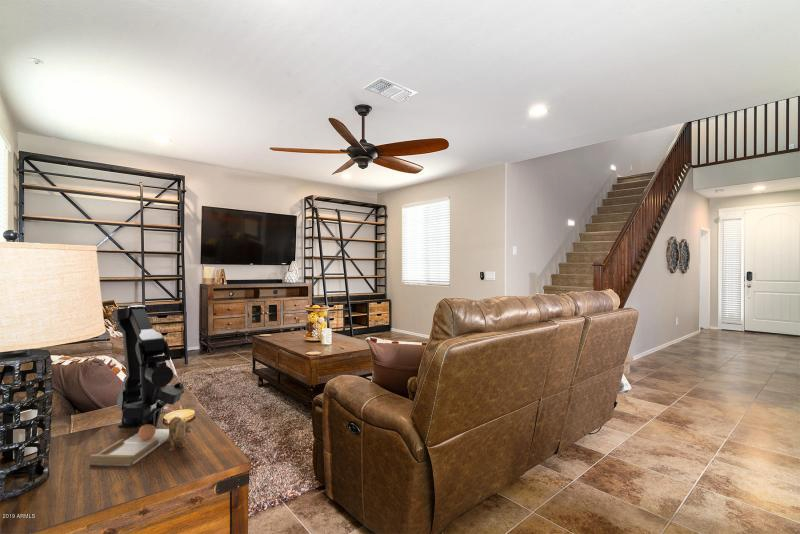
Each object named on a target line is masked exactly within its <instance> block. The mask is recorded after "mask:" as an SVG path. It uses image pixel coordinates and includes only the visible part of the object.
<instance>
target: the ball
mask: <svg viewBox="0 0 800 534" xmlns="http://www.w3.org/2000/svg"><path fill="white" fill-rule="evenodd" d="M156 429H157V428H155V427H154V426H153V425H151V424H144V425H141V427H140V428H139V430H138V432H137V433H138V435H139V437H140V438H141V439H143V440H148V439H150V438H152V437H153V436H154V434H155V431H156Z"/></svg>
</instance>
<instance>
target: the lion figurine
mask: <svg viewBox="0 0 800 534" xmlns="http://www.w3.org/2000/svg"><path fill="white" fill-rule="evenodd" d="M193 428H194V426H192V425H190V424H189V423H188V421H187V419H181V417H179V416H174V417H172V418H171V420H170V422H169V426H168V429H169V437H168V439H167V440H166V442H170V443H169V445H170V448H169V451H171V452H173V451H175V442H178V447H179V448H181V447H183V448H184V447H185V444H184V438H186V436H187V434H190V433H192V430H193ZM181 449H182V448H181ZM172 450H173V451H172Z"/></svg>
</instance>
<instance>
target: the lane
mask: <svg viewBox="0 0 800 534" xmlns="http://www.w3.org/2000/svg"><path fill="white" fill-rule="evenodd" d="M155 429H156V431H155V434H154V436H153V437H152V438H150V439H148V440H143V439H141V438H140V437H139V435H138V432H137V433H135V434H133V435H132V436H130V437H128V438H127V439H126V440H125V439H124V438H121V439H119V440H118V441H116V442H114V443H112V444H110V445H109V446H108V447H105V449H103V450H101V451H100V452H98V453H92V454H90V455H89V465H90V466H109V467H114V466H115V467H132V466H133V465H135V464H136V463H137V462H139V461H140V460H142V459H143V458H144V457H146V456H147V455H148V454H150V453H152V451H154V450H155V449H157V448H158V447H160V446H161V445H162V444H163V443H165V442H167V439H168V437H169V428H155Z"/></svg>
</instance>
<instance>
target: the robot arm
mask: <svg viewBox="0 0 800 534" xmlns="http://www.w3.org/2000/svg"><path fill="white" fill-rule="evenodd" d="M112 319H113V322H115V328H116V329H117V330H118V331H119V333H121V334H122V341H123V342H122V344H123V353H124V355H123V356H124V366H125V374H126V375H125V379H124V381H123V383H122V384H121V390H120V392H119V394H118V396H117V400H116V403H117V407H118V408H119V409H120V410H121V423H119V424H117V427H118V428H119V427H120V428H123V427H124V428H138V427H140V426H142V425H143V424H144V423H146V424H151V425H153V426H154V427H155V429H157V427H158V423H159V420H160V416H161V414H162V410H163V408H164V407H166V406H167V405H175V403H177V402H179V401H180V400H181V397H182V395H183V394H184V393H185V389H184V388H185V386H184V383H183V382H181V381H178V382H177V383H174V384H170V385H169V383H171V382H172V381H173V378H174V371H173V369H172V368H171V367H170V366H168V365H167V361H171V357H172V356H171V355H172V352H171V349H170V346H169V344H168V342H167V339H165V337H164V336H163V335H162V333H161V332H158V331H156V330H155V328H154V327H153V324H152V322H151V320H150V317H149V316H148V313H147V307H146V305H144V304H143V305H142V304H137V305H134V304H133V305H129V306H126V307H123V306H121V307H118V308H117V309H116V310H114V311H113V314H112ZM146 424H145V425H146Z"/></svg>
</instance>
